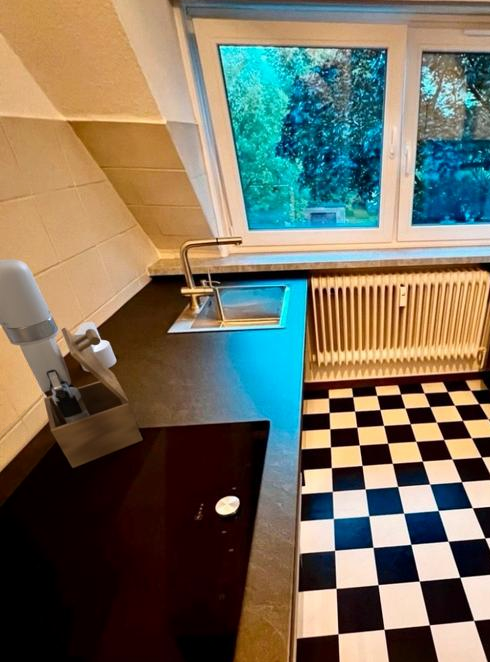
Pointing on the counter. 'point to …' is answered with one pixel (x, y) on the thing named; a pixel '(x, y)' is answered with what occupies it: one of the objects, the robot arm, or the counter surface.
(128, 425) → the chest
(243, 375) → the counter surface
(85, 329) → the cylinder with rectangular tab
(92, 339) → the lid
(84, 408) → the sprinkles bottle
